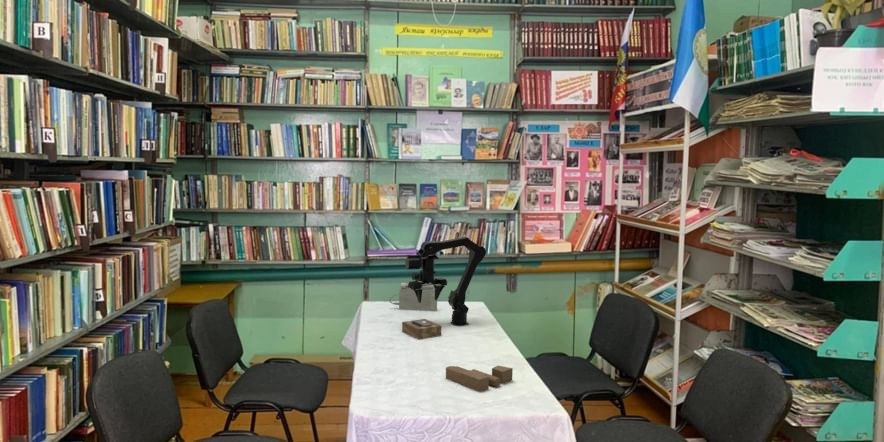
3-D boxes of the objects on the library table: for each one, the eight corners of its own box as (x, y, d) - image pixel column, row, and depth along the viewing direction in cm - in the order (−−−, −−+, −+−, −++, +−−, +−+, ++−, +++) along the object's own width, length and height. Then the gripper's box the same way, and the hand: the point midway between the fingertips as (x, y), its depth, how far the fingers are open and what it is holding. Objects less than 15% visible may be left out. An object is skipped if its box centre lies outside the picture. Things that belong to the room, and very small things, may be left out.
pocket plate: (424, 328, 280) (424, 318, 280) (441, 335, 269) (441, 325, 268) (402, 331, 274) (402, 321, 273) (418, 339, 262) (418, 329, 262)
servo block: (419, 329, 276) (419, 317, 276) (431, 335, 268) (431, 322, 268) (412, 331, 274) (412, 318, 274) (423, 336, 266) (423, 323, 265)
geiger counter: (438, 283, 317) (390, 281, 320) (436, 285, 311) (388, 283, 313) (437, 309, 318) (390, 307, 321) (436, 312, 312) (388, 310, 314)
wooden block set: (481, 377, 201) (444, 364, 214) (481, 394, 202) (444, 379, 215) (515, 366, 213) (477, 354, 226) (514, 382, 213) (477, 369, 226)
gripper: (434, 264, 294) (434, 296, 296) (401, 268, 283) (401, 300, 285) (448, 267, 285) (447, 300, 287) (414, 271, 274) (414, 305, 276)
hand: (427, 301), depth 284 cm, fingers open, 9 cm apart
